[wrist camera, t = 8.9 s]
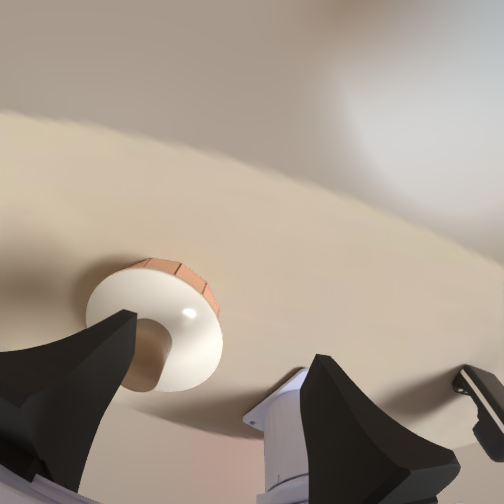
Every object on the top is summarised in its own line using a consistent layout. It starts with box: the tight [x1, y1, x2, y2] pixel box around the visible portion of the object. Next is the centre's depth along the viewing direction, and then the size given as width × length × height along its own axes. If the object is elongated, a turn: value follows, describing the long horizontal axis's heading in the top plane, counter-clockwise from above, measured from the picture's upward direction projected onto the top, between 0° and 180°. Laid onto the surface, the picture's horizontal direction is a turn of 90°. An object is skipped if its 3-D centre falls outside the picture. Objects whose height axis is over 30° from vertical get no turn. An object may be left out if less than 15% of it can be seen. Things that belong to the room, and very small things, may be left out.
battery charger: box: [452, 365, 504, 462], centre depth 19 cm, size 7×4×11 cm, turn 65°
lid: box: [86, 267, 223, 392], centre depth 17 cm, size 9×9×4 cm
